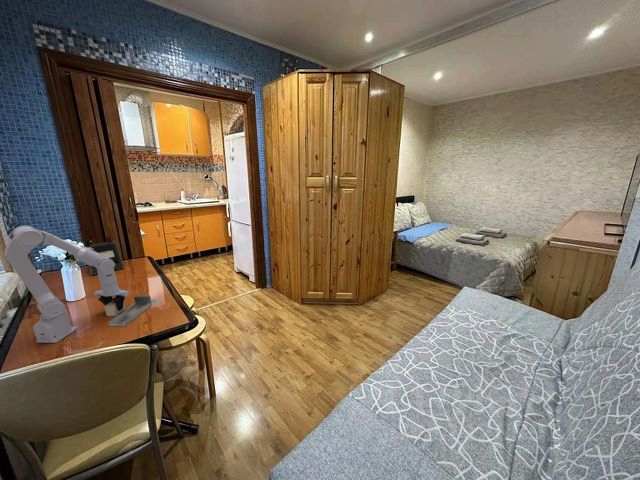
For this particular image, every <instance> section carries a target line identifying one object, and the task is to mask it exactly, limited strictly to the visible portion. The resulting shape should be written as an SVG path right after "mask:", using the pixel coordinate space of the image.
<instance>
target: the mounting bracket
mask: <svg viewBox="0 0 640 480" xmlns="http://www.w3.org/2000/svg"><path fill="white" fill-rule="evenodd" d="M151 302H152V306H154V305H159V304H161V300H157V299H156V298H154V299H151Z"/></svg>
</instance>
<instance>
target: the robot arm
mask: <svg viewBox="0 0 640 480" xmlns="http://www.w3.org/2000/svg"><path fill="white" fill-rule="evenodd" d="M39 245H41V246H53V247H55V248H58V249H60V250H63V251H65V252H68V253H70V254H72V255H73V256H74V259H75V260H77V261H79V262H80V263H82V264H83V263H84V264H86V265H87V266H88V265H90V266H94V267H95V268H97V272H98V275H97V276H98V277H97V278H98V279H99V283H100V287H101V289H99V290H96V291H94V292H93V295H94V297H98V296H99V297H98V299H97V300H98V301H99V302H101V304H103V305H104V306H105V305H107V304H108V303H110V302H111V301H114V303H115V304H116V307H117V309H118V311H120V310H122V309H123V303H124V304H125V299H126V297H128V296H129V295H130V291H129V290H124V289H121V287H119V285H118V280H117V276H116V272H115V269H114V267H115V263H114V262H113V260H111V259H109V258H107V257H106V256H105V255H104V254H99V253H97V252H95V251H93V250H94V249H92V248H90V247H89V248H87V247H83V246H82V247H79V246H77V245H74V244H72V243H70V242H68V241H66V240H64V239H62V238H60V237H59V236H57V235H54V234H51V233H49V232H47V231H44V230H40V229H36V228H35V227H33V226H31V225H30V226H29V225H20V226H17V227H16V228H14V229H13V230H12V231H11V232H10V233H9V234H8V237H7V242H6V247H5V249H4V253H3V255H4V257H5V259H6V260H7V262H8V263H9V264H10V266H11V267H12V268H13V269H14V272H15V273H16V274H17V275H18V277H19V278H20V279H21V281H22V282H23V284H24V285H25V286H26V288H27V289H28V291H29V292H30V294H31V295H32V296H33V298H34V299H35V301H36V304H35V305H36V308H37V310H39V311H40V313H41V314H40V316H39V320H38V321H37V322H36V323H35V324H33V326H32V330H33V333H34V335H35V338H36V341H35V342H36V343H45V344H46V343H48V344H53V343H54V344H56V343H57V342H59V341H61V340H62V339H64V338H65V337H67V336H68V335H70V334H71V333H73V332H75V331H76V330H77V329H79V326H72V323H71V321H70V318H69V314H68V311H67V308H66V305H65V303H63V302H62V301H61V300H60V299H59V297H57V296H55V295H54V294H53V293H52V290H50V288H49V286H48V285H47V284H46V281H44V279H43V277H41V274H40V273H39V272H38V270H37V269H36V267H35V266H34V264H33V263H32V261H31V260H30V258H29V257H28V255H29V254H30V253H31V252H32V250H33V249H35V248H36V247H37V246H39Z"/></svg>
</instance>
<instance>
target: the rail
mask: <svg viewBox="0 0 640 480" xmlns="http://www.w3.org/2000/svg"><path fill="white" fill-rule="evenodd" d="M133 298H134V301H135V302H133V304H131V305H130V306H128V307H127V308H126V309H125V310H123V311H122V312H121V313H119V314H118V315H116V316H113V318H111V319H110V320H108V326H109V327H127V325H129V324H130V323H131V322H133V321H134V320H136V319H137V318H138V317H139V316H140V315H142V314H143V313H144V312H146V311H147V310H149V308H151V307H152V306H153V305H152V302H151V300H152V298H151V295H135V296H133Z"/></svg>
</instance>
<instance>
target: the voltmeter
mask: <svg viewBox="0 0 640 480" xmlns="http://www.w3.org/2000/svg"><path fill="white" fill-rule="evenodd" d="M105 238H106V242H105V241H104V242H100V243H94V244H92V243H91V240H90V239H85V240H84V245H83V246H84V247H87V248H89V247H90V248H92V249H94V250H93V251H95V252H97V253H99V254H104V255H105V256H106V257H107V258H109V259H111V260H113V262H114V263H115V267H114V270H117V271H119V270H122V269H123V268H124V263H123V261H122V260H123V259H122V257H121V253H120V251H119V249H118V245H117V243H116V241H115V240H113V239H112V237H111V236H106V237H105ZM87 267H88V270H89V272H90V274H91V275H93V276H98V272H97V268H95V267H94V266H90V265H88V264H87Z"/></svg>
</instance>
